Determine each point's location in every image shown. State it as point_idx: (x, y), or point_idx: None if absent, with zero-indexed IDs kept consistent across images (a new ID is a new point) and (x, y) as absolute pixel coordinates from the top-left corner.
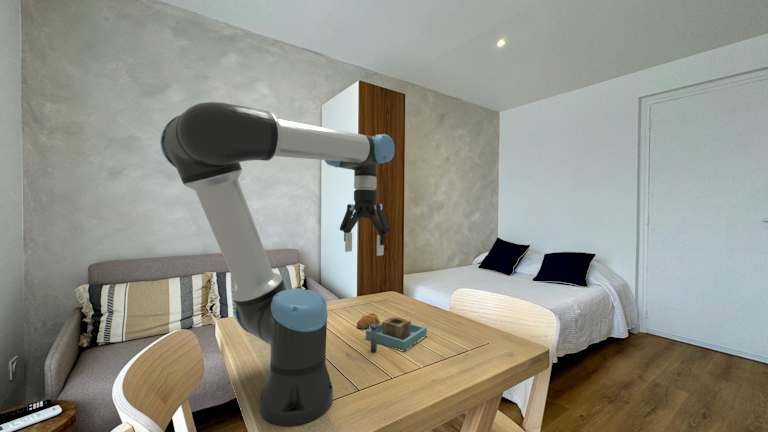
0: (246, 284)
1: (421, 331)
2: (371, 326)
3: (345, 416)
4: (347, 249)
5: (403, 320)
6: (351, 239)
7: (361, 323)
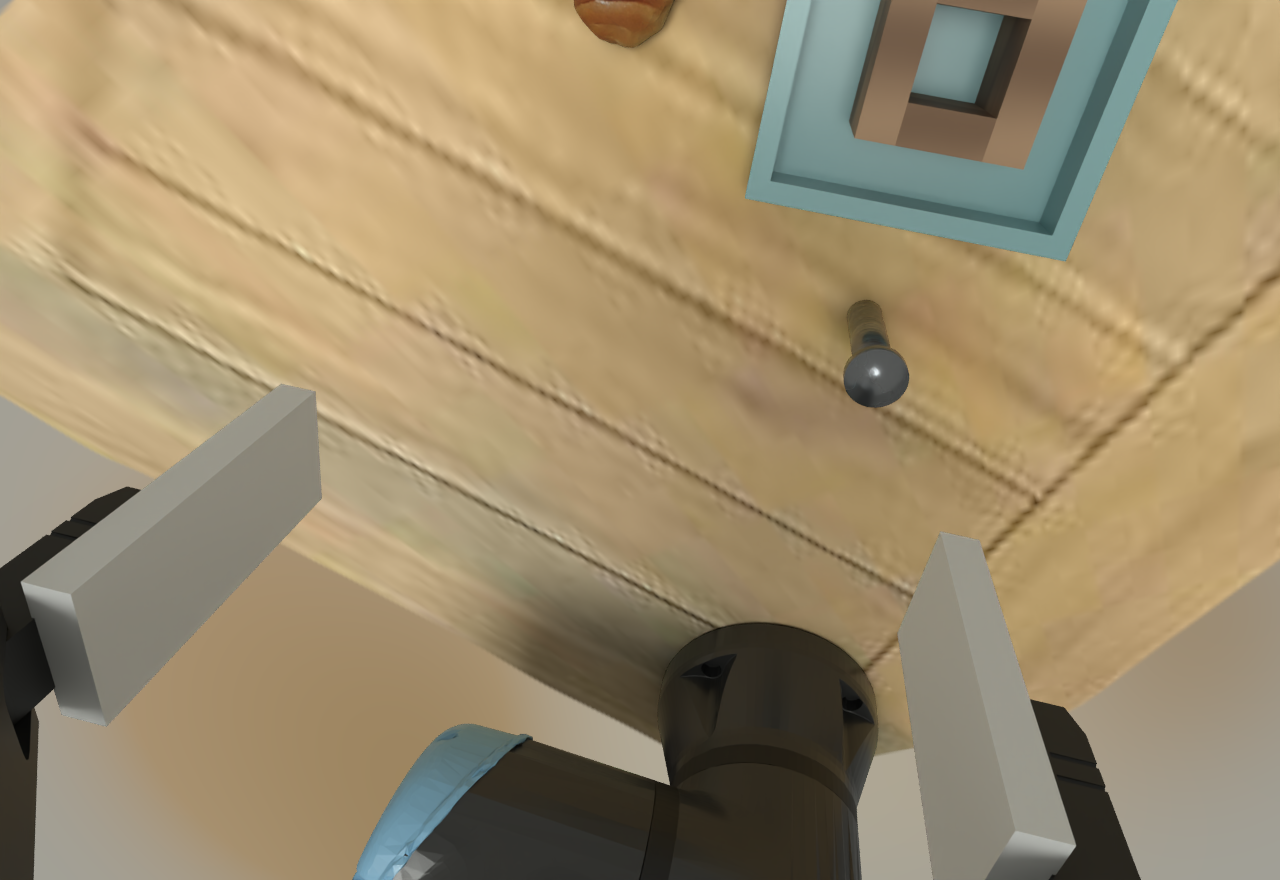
0: None
1: None
2: (867, 405)
3: None
4: (300, 501)
5: (1023, 5)
6: (184, 517)
7: (626, 33)
